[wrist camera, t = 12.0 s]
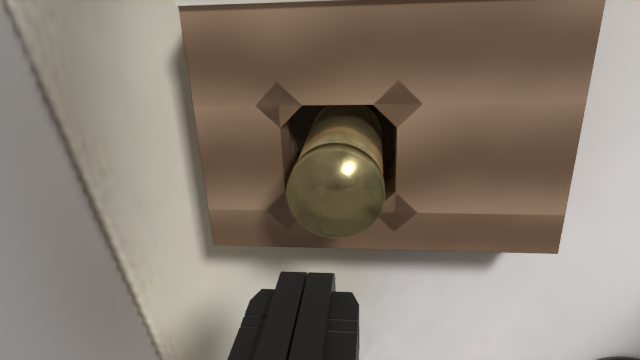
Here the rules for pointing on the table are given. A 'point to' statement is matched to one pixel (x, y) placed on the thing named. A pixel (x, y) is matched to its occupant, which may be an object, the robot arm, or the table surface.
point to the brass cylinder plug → (339, 173)
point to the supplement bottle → (621, 358)
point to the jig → (396, 113)
